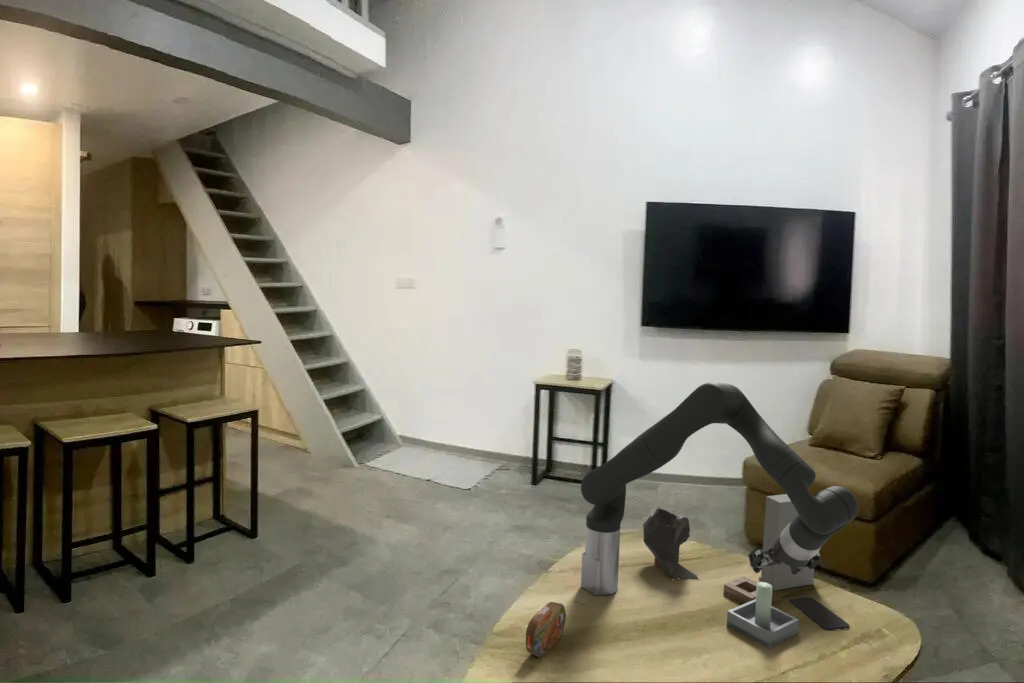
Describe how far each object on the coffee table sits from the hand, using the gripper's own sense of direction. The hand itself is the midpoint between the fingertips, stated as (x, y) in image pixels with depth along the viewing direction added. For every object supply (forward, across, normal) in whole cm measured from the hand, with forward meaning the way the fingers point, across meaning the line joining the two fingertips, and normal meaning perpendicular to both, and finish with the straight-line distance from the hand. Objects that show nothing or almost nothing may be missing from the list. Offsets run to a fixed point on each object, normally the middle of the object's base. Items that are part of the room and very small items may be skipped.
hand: (773, 569), depth 144 cm
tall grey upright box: (+33, -16, -8) cm, 37 cm away
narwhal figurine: (+38, +16, -13) cm, 43 cm away
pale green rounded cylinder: (+14, 0, +8) cm, 17 cm away
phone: (+22, -17, +4) cm, 28 cm away
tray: (+15, 0, +9) cm, 18 cm away
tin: (+8, +53, +16) cm, 56 cm away
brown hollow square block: (+26, -2, -2) cm, 27 cm away
